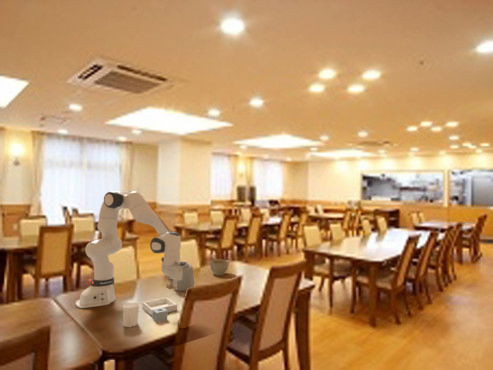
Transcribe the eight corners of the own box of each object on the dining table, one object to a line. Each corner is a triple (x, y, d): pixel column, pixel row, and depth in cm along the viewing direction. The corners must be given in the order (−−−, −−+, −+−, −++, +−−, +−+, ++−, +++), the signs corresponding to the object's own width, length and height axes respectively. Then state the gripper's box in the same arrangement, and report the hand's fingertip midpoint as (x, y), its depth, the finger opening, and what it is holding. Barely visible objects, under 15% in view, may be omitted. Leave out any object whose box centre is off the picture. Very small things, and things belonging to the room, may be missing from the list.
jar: (183, 295, 214) (184, 257, 214) (165, 292, 219) (165, 255, 220) (197, 287, 231) (198, 252, 232) (180, 284, 237) (181, 250, 237)
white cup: (133, 320, 171) (133, 301, 171) (141, 324, 166) (141, 305, 166) (119, 325, 165) (119, 305, 165) (127, 329, 160) (128, 309, 160)
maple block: (169, 289, 179) (169, 281, 179) (166, 287, 182) (166, 279, 182) (176, 288, 181) (177, 280, 181) (173, 286, 185) (173, 278, 185)
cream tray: (152, 316, 177) (152, 310, 177) (142, 308, 189) (142, 302, 189) (177, 310, 186) (177, 304, 186) (166, 303, 198) (166, 297, 198)
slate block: (156, 322, 169) (156, 312, 169) (152, 318, 174) (152, 309, 174) (167, 319, 173) (167, 310, 173) (163, 316, 177) (163, 307, 178)
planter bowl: (232, 273, 270) (232, 260, 271) (221, 277, 257) (221, 264, 257) (217, 270, 279) (217, 258, 279) (205, 274, 265) (205, 261, 265)
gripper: (185, 263, 176) (184, 288, 176) (170, 256, 192) (169, 279, 192) (175, 264, 172) (174, 290, 172) (160, 257, 188) (159, 281, 188)
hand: (171, 284), depth 182 cm, fingers closed on maple block, 4 cm apart
